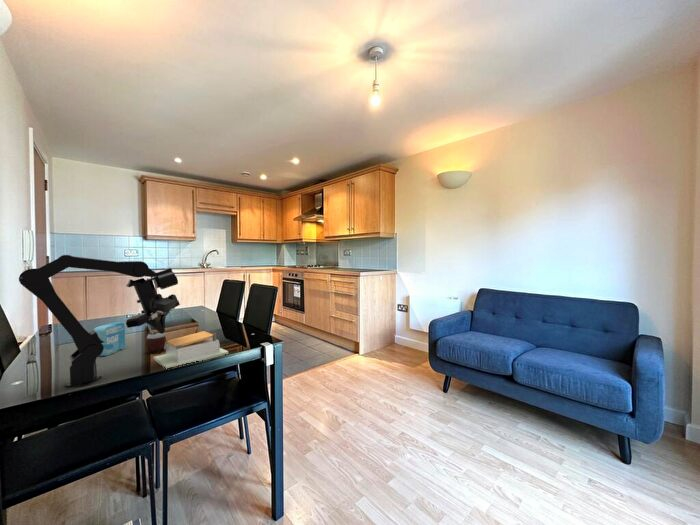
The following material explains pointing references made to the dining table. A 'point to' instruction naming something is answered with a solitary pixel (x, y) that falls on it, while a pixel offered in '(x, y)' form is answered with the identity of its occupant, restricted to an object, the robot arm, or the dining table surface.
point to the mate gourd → (155, 341)
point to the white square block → (193, 349)
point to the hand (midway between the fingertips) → (162, 333)
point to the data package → (111, 337)
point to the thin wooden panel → (190, 339)
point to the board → (169, 362)
